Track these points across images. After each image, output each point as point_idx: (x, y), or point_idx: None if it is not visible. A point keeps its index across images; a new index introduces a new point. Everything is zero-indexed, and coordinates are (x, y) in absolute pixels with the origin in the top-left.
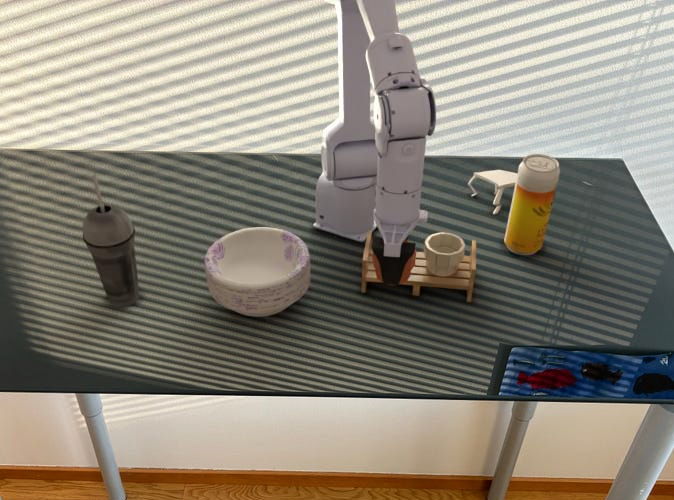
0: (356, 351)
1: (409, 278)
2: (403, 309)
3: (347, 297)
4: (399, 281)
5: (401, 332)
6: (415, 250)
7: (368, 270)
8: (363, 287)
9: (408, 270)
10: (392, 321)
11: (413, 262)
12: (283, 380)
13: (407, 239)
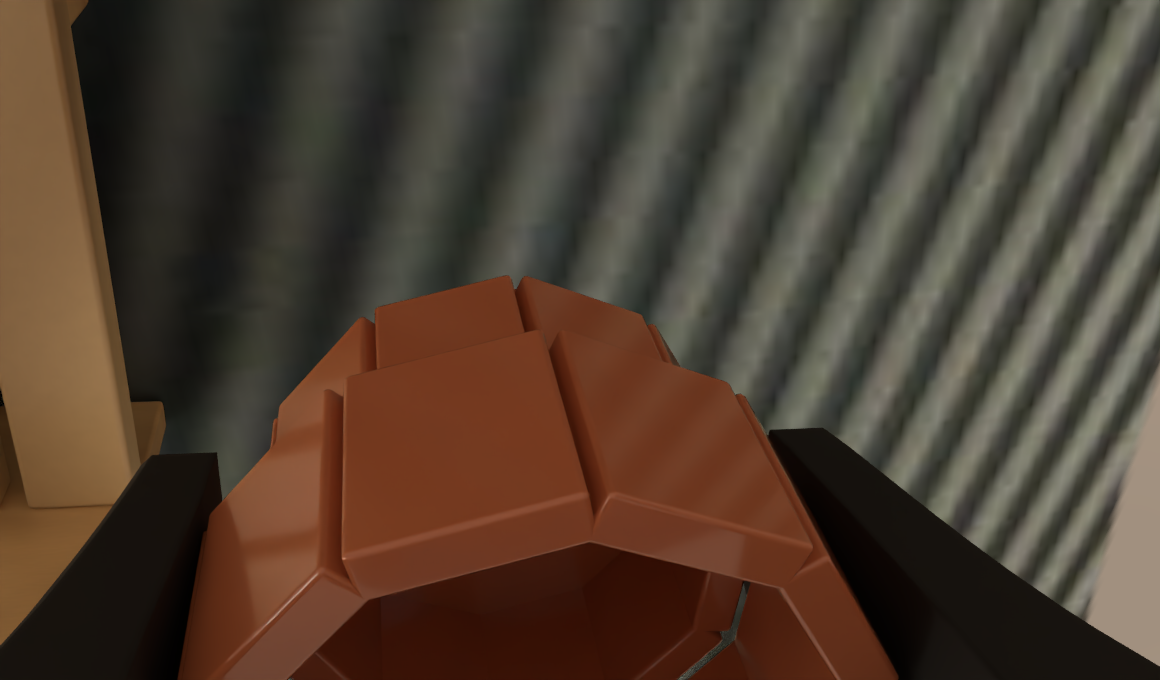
0: (843, 368)
1: (25, 116)
2: (321, 77)
3: None
4: (860, 456)
5: (640, 79)
6: (541, 513)
7: (3, 495)
8: (155, 445)
9: (760, 426)
10: (503, 160)
11: (664, 418)
12: None
13: (139, 659)
